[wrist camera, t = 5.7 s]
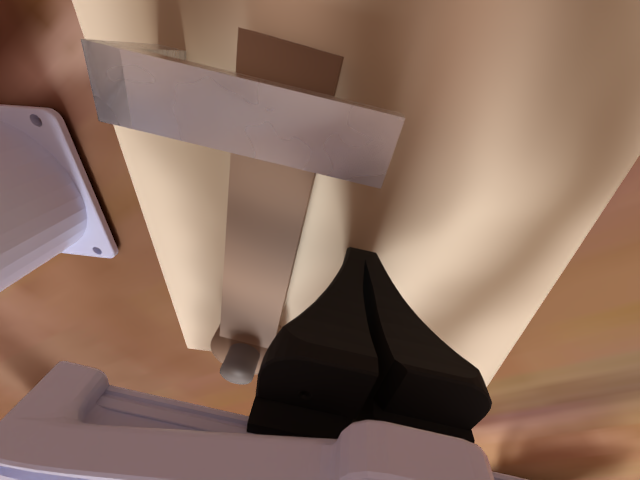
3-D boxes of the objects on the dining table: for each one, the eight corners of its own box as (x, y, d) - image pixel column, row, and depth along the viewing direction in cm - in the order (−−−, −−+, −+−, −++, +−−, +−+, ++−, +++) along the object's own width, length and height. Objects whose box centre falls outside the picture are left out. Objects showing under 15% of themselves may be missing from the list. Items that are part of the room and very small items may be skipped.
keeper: (392, 101, 10) (405, 117, 7) (375, 156, 11) (380, 188, 8) (158, 43, 10) (80, 38, 7) (163, 105, 11) (98, 120, 8)
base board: (194, 336, 21) (187, 348, 20) (79, -47, 10) (52, -57, 9) (480, 374, 19) (485, 388, 18) (725, -29, 8) (766, -39, 7)
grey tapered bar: (280, 356, 19) (267, 402, 16) (221, 341, 19) (199, 385, 16) (359, 61, 9) (358, 62, 7) (242, 27, 9) (198, 16, 7)
